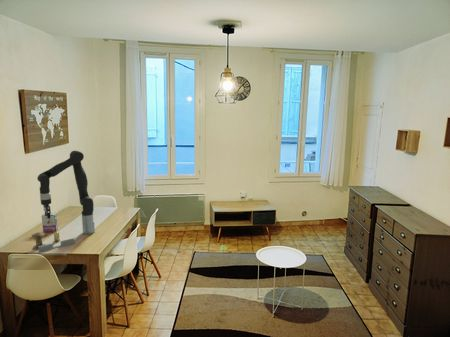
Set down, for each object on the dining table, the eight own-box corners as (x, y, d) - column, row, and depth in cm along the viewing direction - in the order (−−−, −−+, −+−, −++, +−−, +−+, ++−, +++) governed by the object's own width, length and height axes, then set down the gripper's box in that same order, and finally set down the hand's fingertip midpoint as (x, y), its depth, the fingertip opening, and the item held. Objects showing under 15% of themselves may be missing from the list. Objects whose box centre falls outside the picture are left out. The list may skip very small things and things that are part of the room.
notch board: (73, 242, 270) (73, 238, 269) (74, 243, 268) (74, 239, 267) (38, 251, 253) (38, 246, 252) (39, 251, 252) (38, 247, 251)
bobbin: (44, 244, 266) (43, 231, 264) (47, 247, 259) (45, 234, 257) (32, 246, 260) (30, 234, 258) (34, 250, 253) (33, 237, 251)
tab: (59, 239, 275) (58, 230, 274) (60, 241, 272) (59, 232, 271) (53, 241, 272) (53, 232, 271) (55, 242, 269) (54, 233, 268)
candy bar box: (58, 230, 296) (56, 213, 293) (56, 232, 292) (54, 214, 289) (45, 230, 295) (43, 213, 292) (43, 232, 290) (41, 215, 287)
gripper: (52, 199, 260) (54, 218, 263) (48, 195, 270) (50, 213, 274) (42, 201, 255) (44, 220, 258) (38, 197, 266) (40, 215, 269)
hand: (47, 217), depth 266 cm, fingers open, 8 cm apart
